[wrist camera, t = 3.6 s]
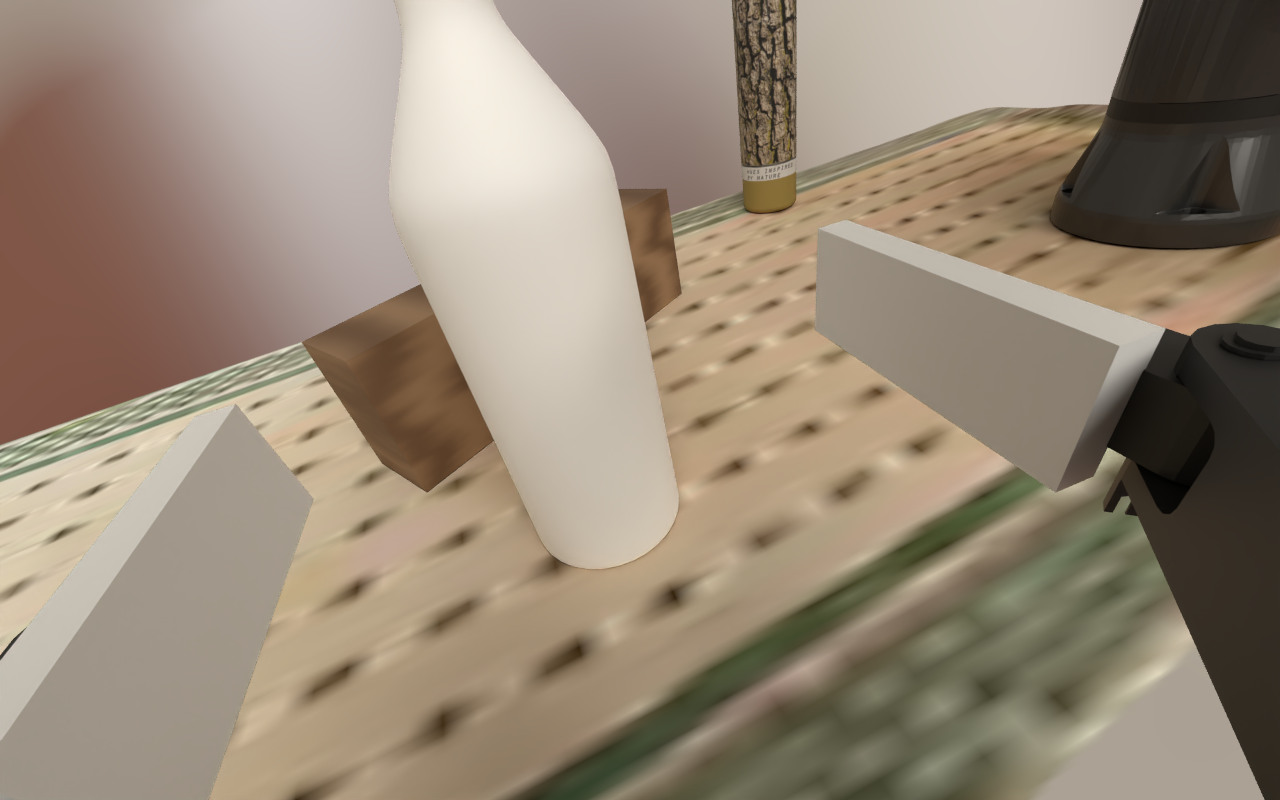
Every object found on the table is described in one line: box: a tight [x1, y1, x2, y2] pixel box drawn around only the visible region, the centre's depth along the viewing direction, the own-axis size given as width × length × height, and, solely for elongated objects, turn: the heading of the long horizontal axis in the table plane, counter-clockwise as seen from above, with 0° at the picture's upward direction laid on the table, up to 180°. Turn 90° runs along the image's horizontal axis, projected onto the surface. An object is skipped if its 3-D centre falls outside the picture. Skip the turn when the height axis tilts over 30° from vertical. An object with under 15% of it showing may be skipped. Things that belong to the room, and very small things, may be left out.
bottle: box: [389, 0, 679, 569], centre depth 19 cm, size 8×8×30 cm
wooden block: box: [302, 189, 681, 492], centre depth 39 cm, size 30×6×10 cm, turn 143°
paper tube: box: [732, 0, 796, 213], centre depth 59 cm, size 7×7×25 cm
